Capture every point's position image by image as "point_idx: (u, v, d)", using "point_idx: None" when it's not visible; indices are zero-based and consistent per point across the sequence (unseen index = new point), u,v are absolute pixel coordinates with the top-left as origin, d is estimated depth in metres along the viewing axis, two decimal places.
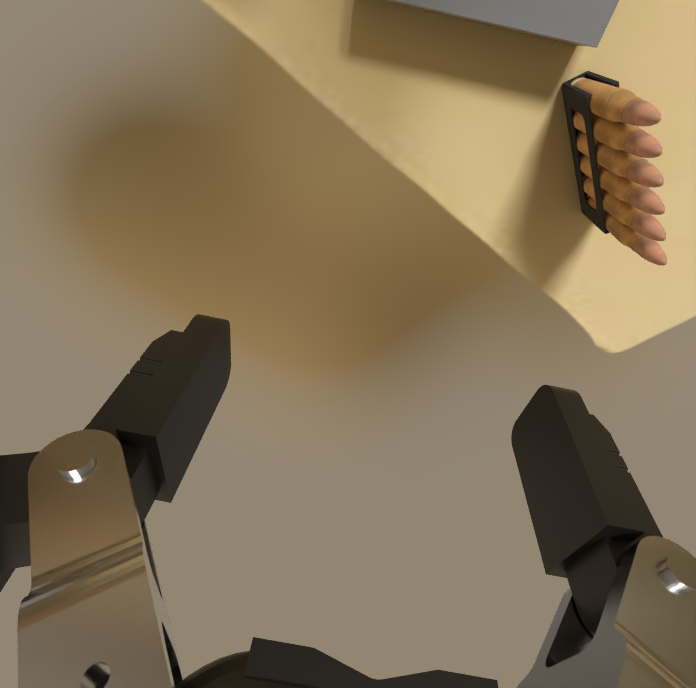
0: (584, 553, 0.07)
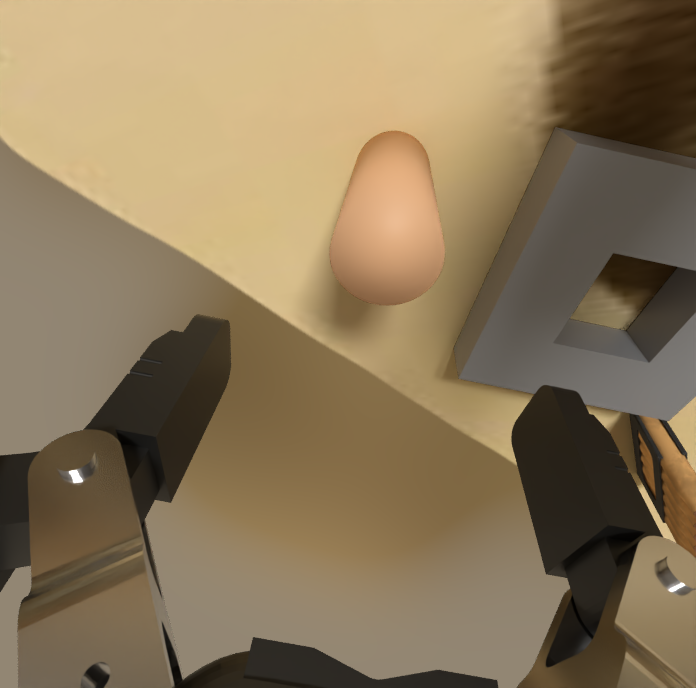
0: (584, 553, 0.07)
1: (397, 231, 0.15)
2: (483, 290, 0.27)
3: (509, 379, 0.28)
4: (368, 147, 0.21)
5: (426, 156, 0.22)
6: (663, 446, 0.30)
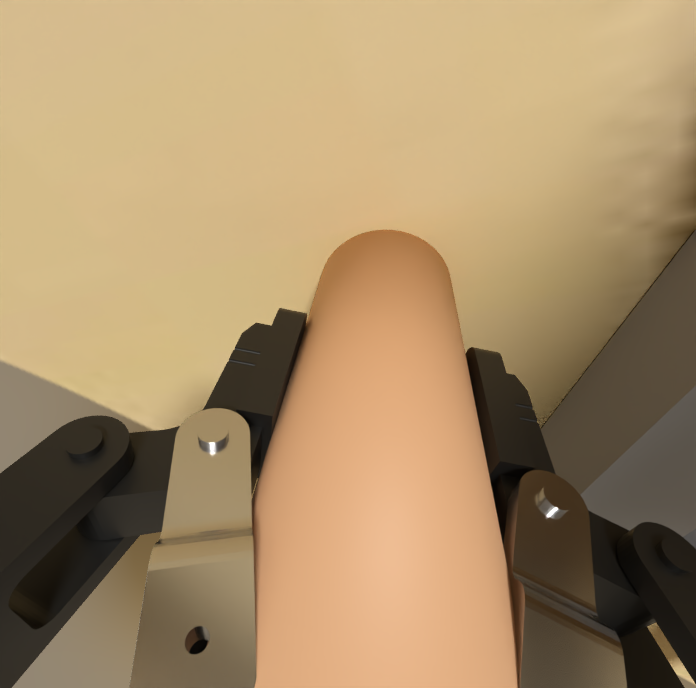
0: None
1: None
2: None
3: None
4: (337, 270, 0.11)
5: (448, 281, 0.12)
6: None
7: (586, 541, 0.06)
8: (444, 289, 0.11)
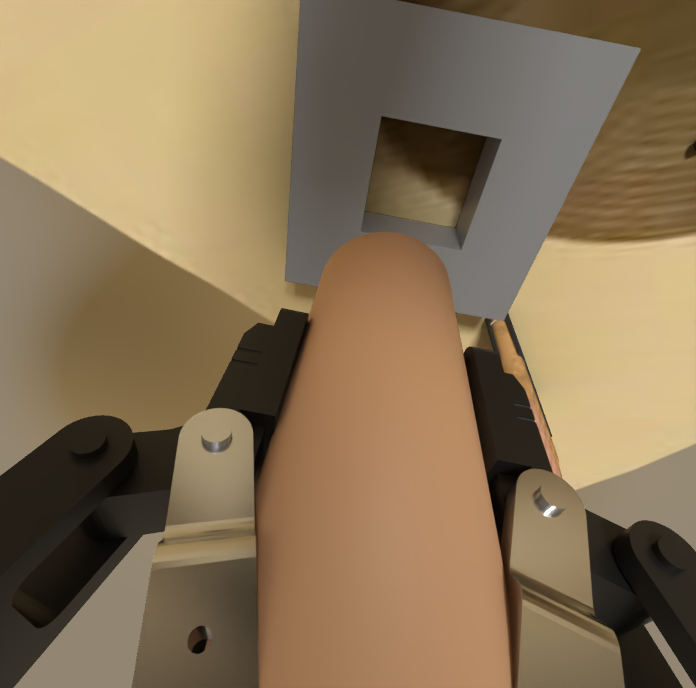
0: None
1: None
2: None
3: None
4: (337, 272, 0.11)
5: (446, 283, 0.12)
6: (503, 349, 0.29)
7: (583, 539, 0.06)
8: (443, 291, 0.11)
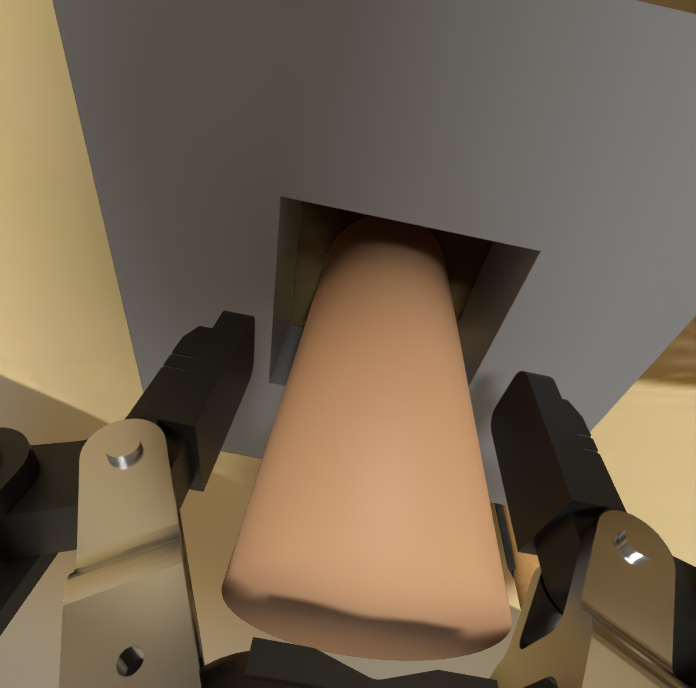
0: (552, 529, 0.08)
1: (389, 594, 0.05)
2: None
3: (233, 440, 0.16)
4: (342, 249, 0.12)
5: (442, 260, 0.13)
6: None
7: (668, 595, 0.06)
8: (438, 265, 0.12)
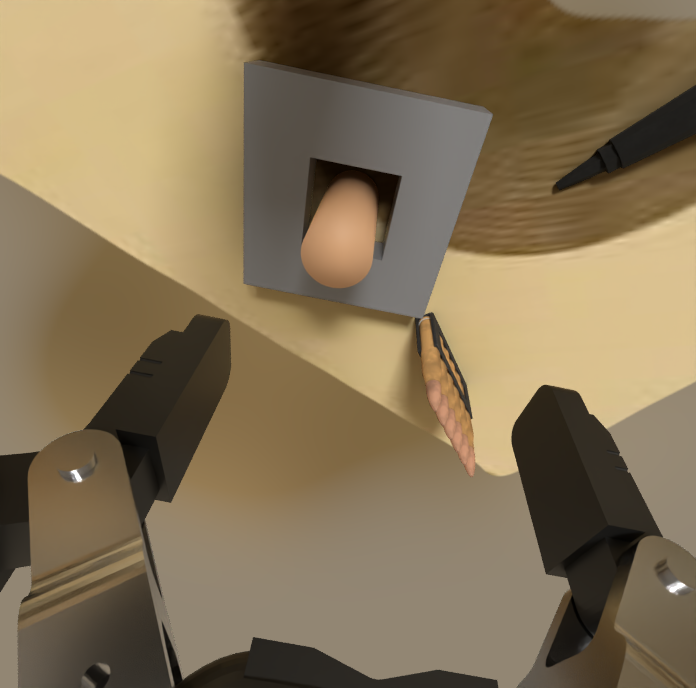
0: (584, 553, 0.07)
1: (342, 240, 0.23)
2: None
3: (282, 282, 0.34)
4: (332, 182, 0.30)
5: (374, 188, 0.31)
6: (424, 342, 0.36)
7: None
8: (370, 187, 0.30)
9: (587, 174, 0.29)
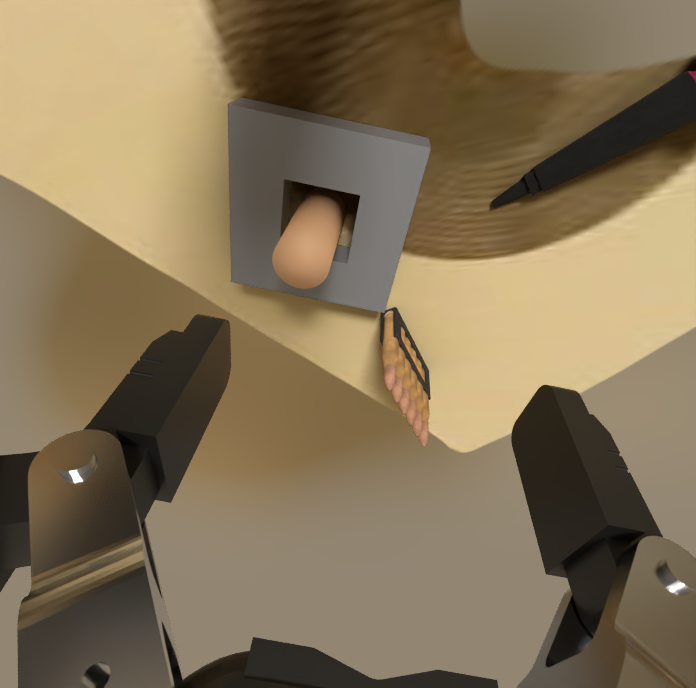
0: (584, 553, 0.07)
1: (304, 250, 0.29)
2: None
3: (264, 281, 0.40)
4: (304, 198, 0.36)
5: (340, 203, 0.37)
6: (386, 333, 0.42)
7: None
8: (336, 203, 0.36)
9: (515, 196, 0.35)
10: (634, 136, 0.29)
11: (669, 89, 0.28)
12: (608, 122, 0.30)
